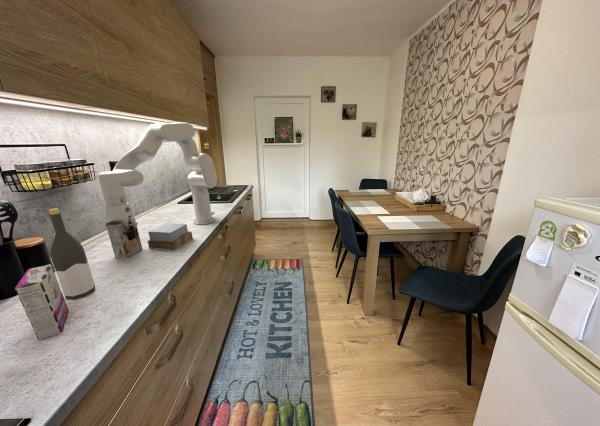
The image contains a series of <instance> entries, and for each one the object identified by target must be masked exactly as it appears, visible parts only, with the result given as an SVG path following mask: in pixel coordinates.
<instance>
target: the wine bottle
mask: <svg viewBox="0 0 600 426" xmlns="http://www.w3.org/2000/svg"><path fill="white" fill-rule="evenodd" d="M48 212H49V215H48V216H49V217H50V220H51V223H52V226H53V229H54V232H55V236H54V239H53V241H52V243H51V250H50V259H51V261H52V265H53V268H54V270H55V272H56V273H55V274H56V275H57V276H56V277H57V279H58V282H59V283H60V284H59V285H60V286H61V287H60V288H61V290H62V293H63V294H64V295H63V296H64V299H66V300H69V301H76V300H79V299H80V300H81V299H83V298H86V297H88V296H89V295H91V294H93V293H94V292H96V284H95V283H96V282H95V280H94V277H93V274H92V271H91V268H90V265H89V261H88V258H87V255H86V251H85V248H84V246H83V245H82V244H81V242H80V241H79V240H78V239H77V238H76V236H73V235H72V234H71V233H69V232H68V230H67V228H66V226H65V223H64V220H63V218H62V213H61V212H60V211H59V208H58V207H57V208H51V209H50V208H49V209H48Z"/></svg>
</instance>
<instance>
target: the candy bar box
mask: <svg viewBox="0 0 600 426" xmlns="http://www.w3.org/2000/svg"><path fill="white" fill-rule="evenodd" d="M52 265H53V264H50V263H49V264H45V265H41V266H37V267H32V268H28V269H27V270H26V272H25V273H24V275H23V276H22V278H21V279H20V280H19V281H18V283H17V285H16V286H15V288H14V290H15V292H16V294H17V296H18V299H19V300H20V303H21V305H22V307H23V309H24V311H25V314H26V316H27V318H28V320H29V322H30V325H31V327H32V329H33V331H34V333H35V336H36V338H37V340H38V341H43V340H46V339H49V338H51V337H54V336H57V335H60V334H63V331H64V329H65V326H66V325H65V324H66V322H67V319H68V315H69V311H70V310H69V307H68V305H67V304H68V303H67V302H66V300H65V299H66V298H65V296H64V295H63V294H64V293H63V290H62V288H61V287H60V286H61V285H60V284H59V280H58V278H57V276H56V273H55V271H54V267H53V266H52Z"/></svg>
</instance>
